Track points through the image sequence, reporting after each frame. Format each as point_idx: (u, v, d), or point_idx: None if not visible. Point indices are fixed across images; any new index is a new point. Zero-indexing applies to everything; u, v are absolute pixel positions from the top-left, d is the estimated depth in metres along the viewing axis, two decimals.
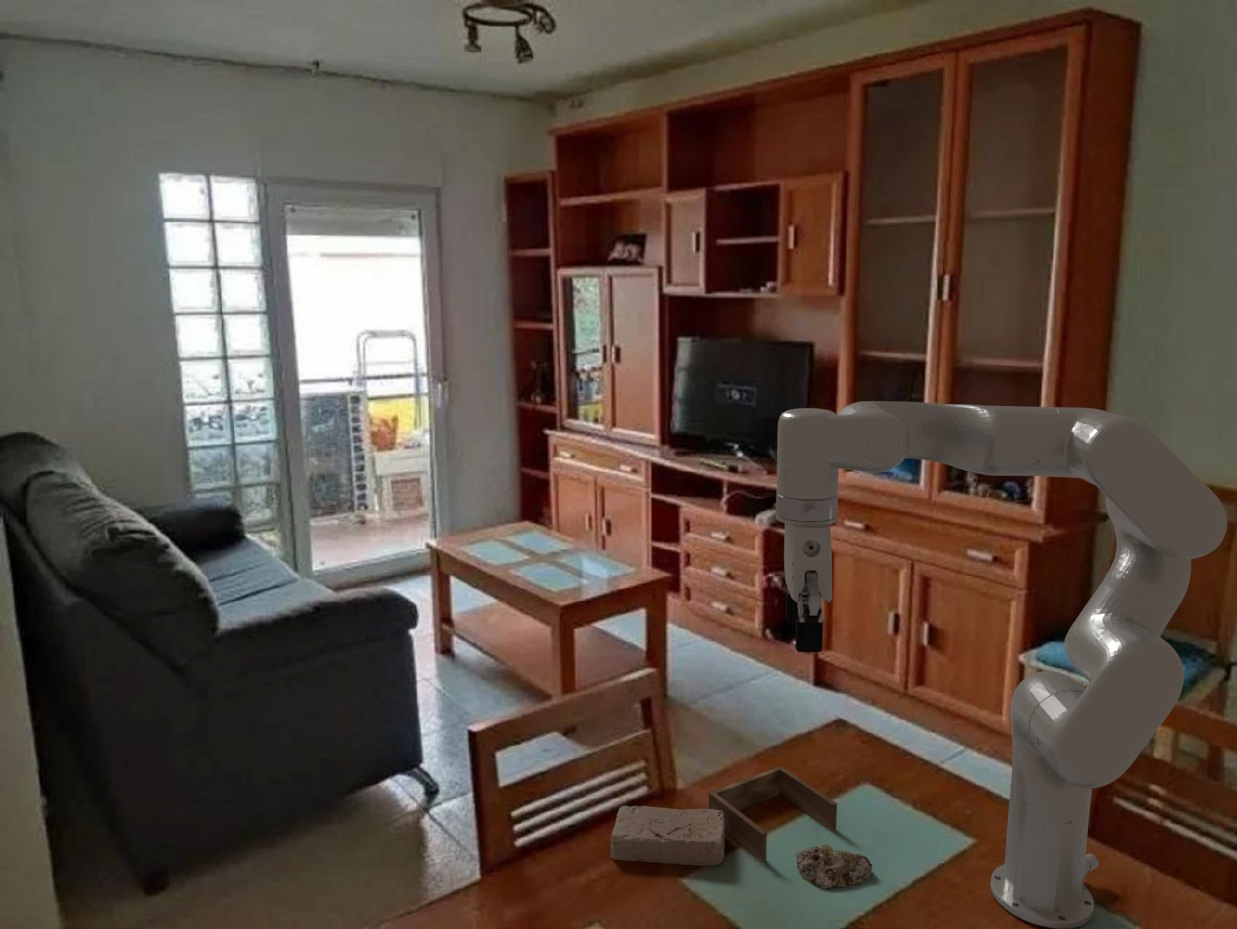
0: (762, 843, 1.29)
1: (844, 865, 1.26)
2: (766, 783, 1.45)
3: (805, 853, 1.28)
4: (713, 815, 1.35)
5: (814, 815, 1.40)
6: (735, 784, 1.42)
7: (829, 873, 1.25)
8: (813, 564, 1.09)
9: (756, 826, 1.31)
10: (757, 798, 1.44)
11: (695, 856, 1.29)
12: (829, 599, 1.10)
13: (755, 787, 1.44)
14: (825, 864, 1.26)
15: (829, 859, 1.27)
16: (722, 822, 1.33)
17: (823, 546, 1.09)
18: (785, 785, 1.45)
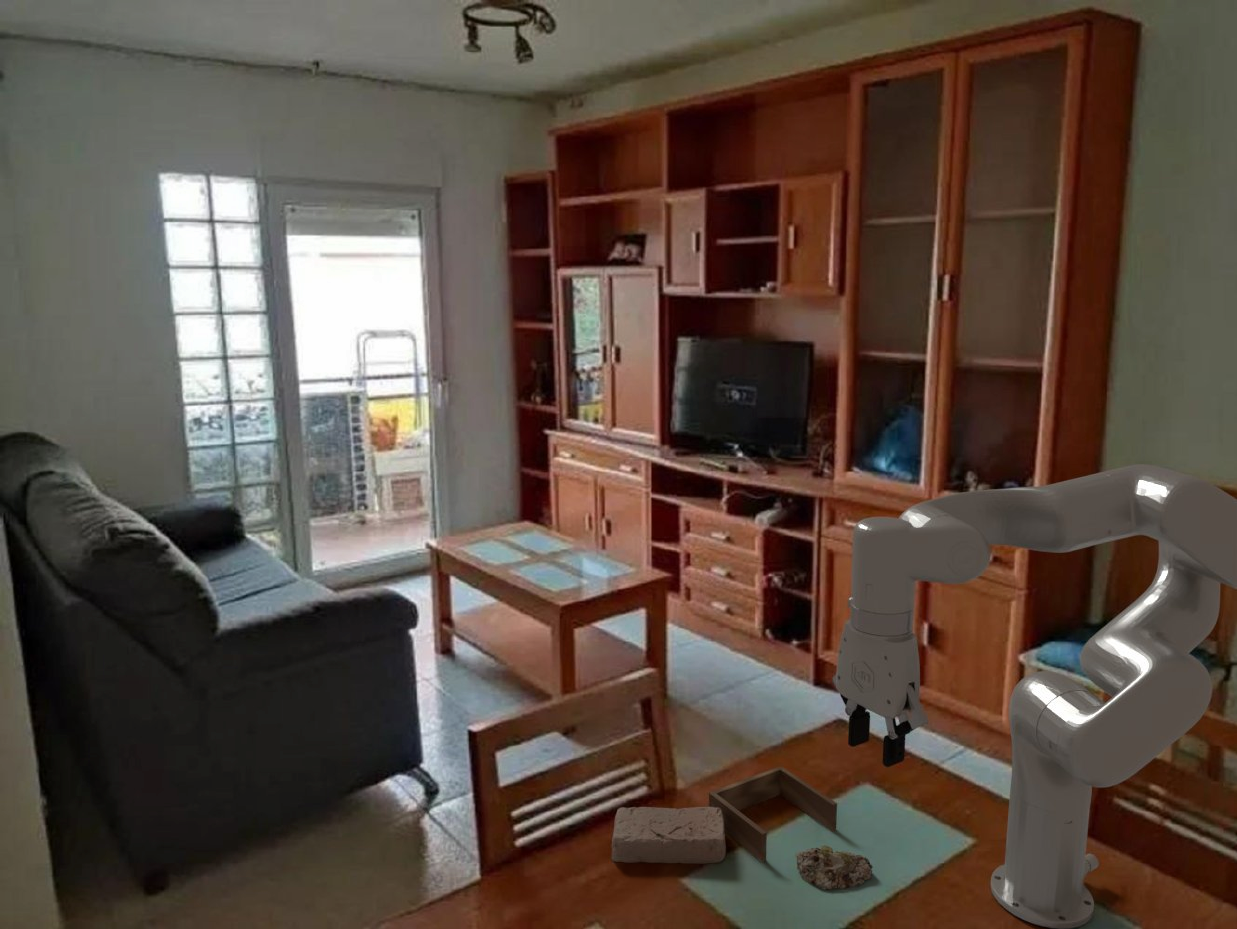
0: (762, 843, 1.29)
1: (844, 866, 1.26)
2: (766, 783, 1.45)
3: (805, 854, 1.28)
4: (712, 812, 1.35)
5: (814, 815, 1.40)
6: (735, 784, 1.42)
7: (829, 874, 1.25)
8: None
9: (756, 826, 1.31)
10: (757, 798, 1.44)
11: (697, 854, 1.29)
12: (836, 686, 1.16)
13: (755, 787, 1.44)
14: (825, 866, 1.26)
15: (829, 860, 1.27)
16: (721, 819, 1.33)
17: None
18: (785, 785, 1.45)
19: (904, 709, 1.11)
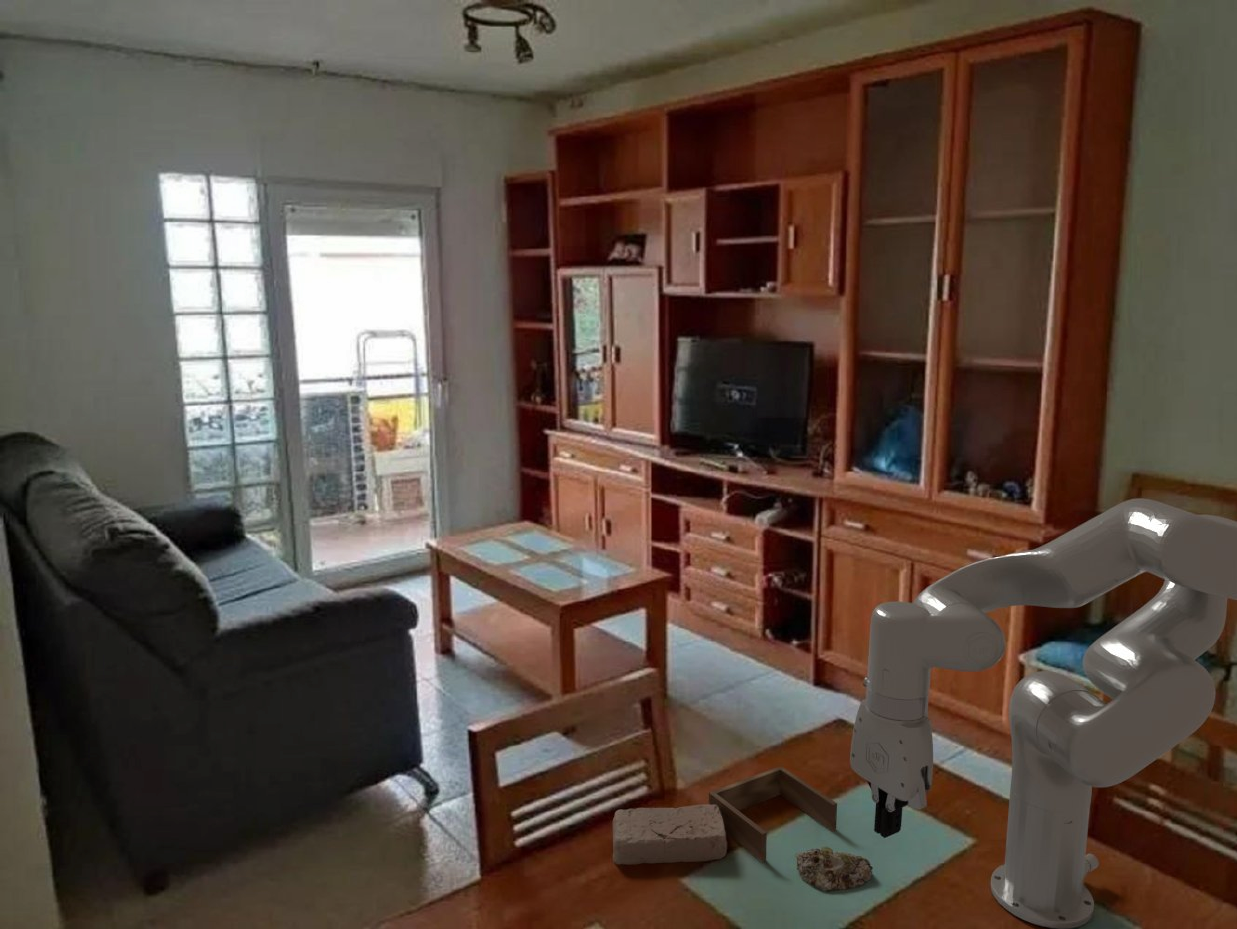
0: (762, 843, 1.29)
1: (844, 867, 1.26)
2: (766, 783, 1.45)
3: (805, 855, 1.27)
4: (710, 809, 1.36)
5: (814, 815, 1.40)
6: (735, 784, 1.42)
7: (829, 875, 1.24)
8: None
9: (756, 826, 1.31)
10: (757, 798, 1.44)
11: (700, 852, 1.30)
12: None
13: (755, 787, 1.44)
14: (825, 867, 1.26)
15: (829, 861, 1.26)
16: (720, 816, 1.34)
17: None
18: (785, 785, 1.45)
19: None
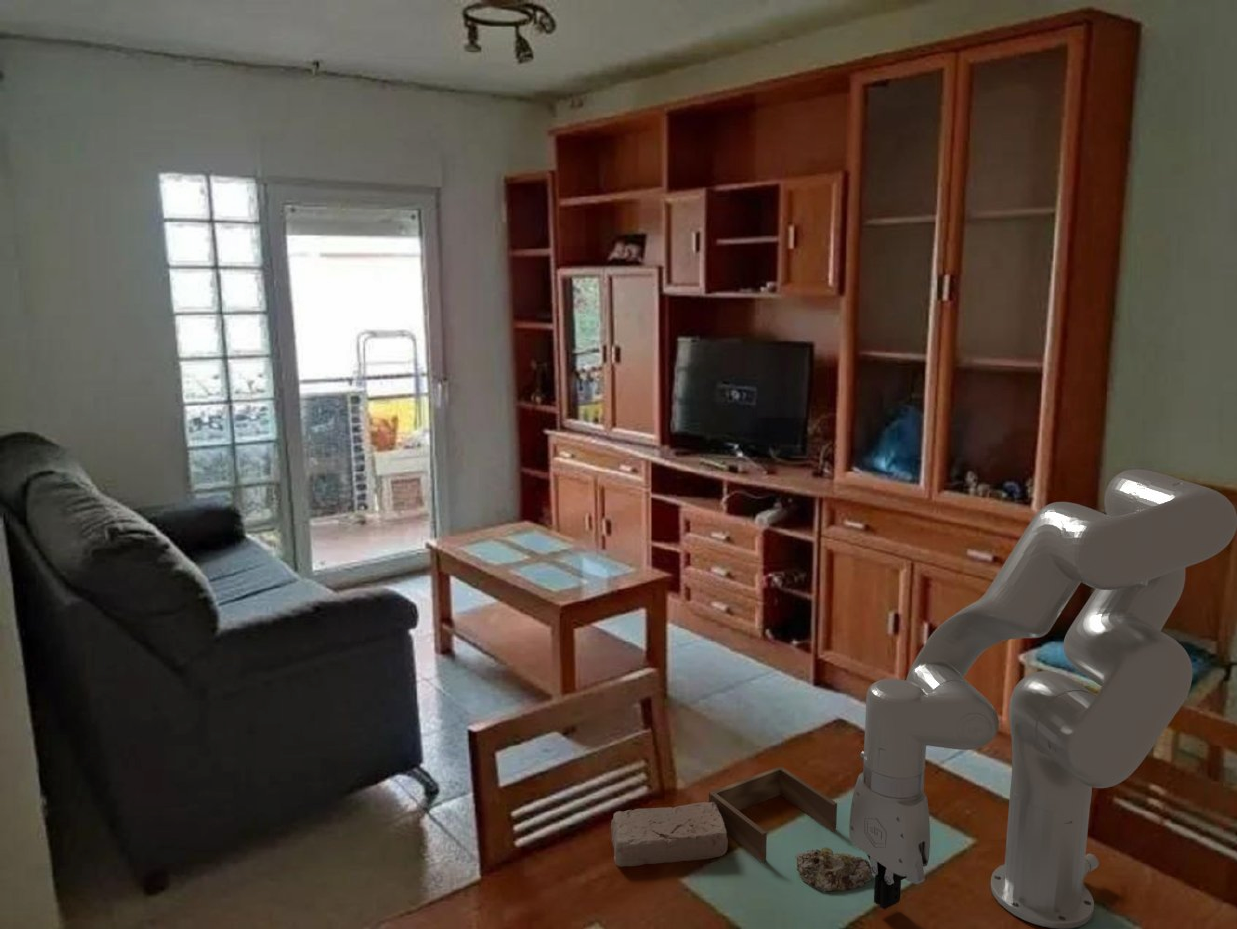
0: (762, 843, 1.29)
1: (844, 868, 1.25)
2: (766, 783, 1.45)
3: (805, 856, 1.27)
4: (707, 807, 1.37)
5: (814, 815, 1.40)
6: (735, 784, 1.42)
7: (829, 876, 1.24)
8: None
9: (756, 826, 1.31)
10: (757, 798, 1.44)
11: (701, 850, 1.30)
12: None
13: (755, 787, 1.44)
14: (825, 867, 1.26)
15: (829, 862, 1.26)
16: (719, 813, 1.35)
17: None
18: (785, 785, 1.45)
19: None
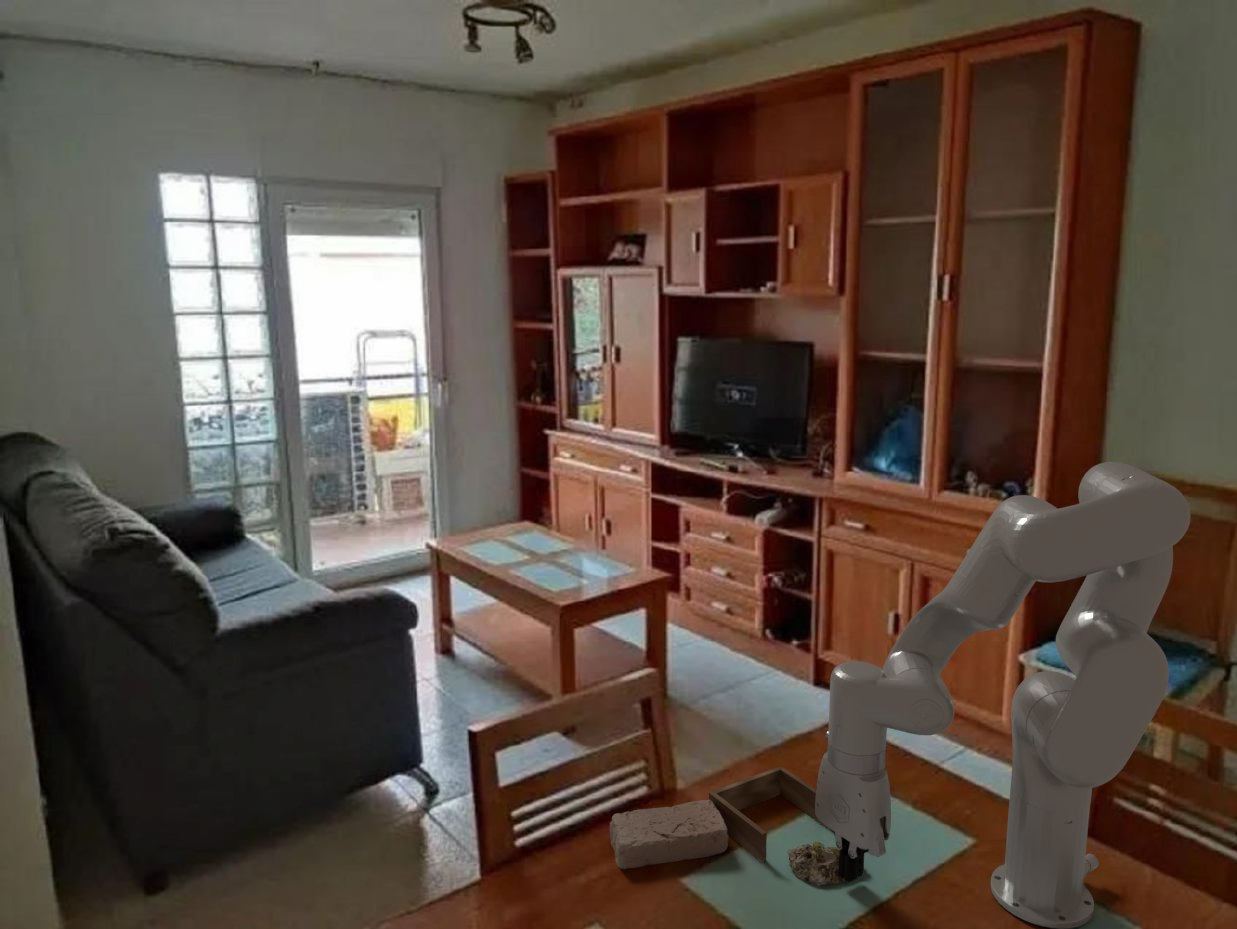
0: (762, 843, 1.29)
1: (836, 861, 1.27)
2: (766, 783, 1.45)
3: (797, 851, 1.28)
4: (705, 805, 1.37)
5: (814, 815, 1.40)
6: (735, 784, 1.42)
7: (822, 870, 1.25)
8: None
9: (756, 826, 1.31)
10: (757, 798, 1.44)
11: (703, 848, 1.31)
12: None
13: (755, 787, 1.44)
14: (818, 862, 1.27)
15: (821, 856, 1.27)
16: (717, 810, 1.36)
17: None
18: (785, 785, 1.45)
19: None
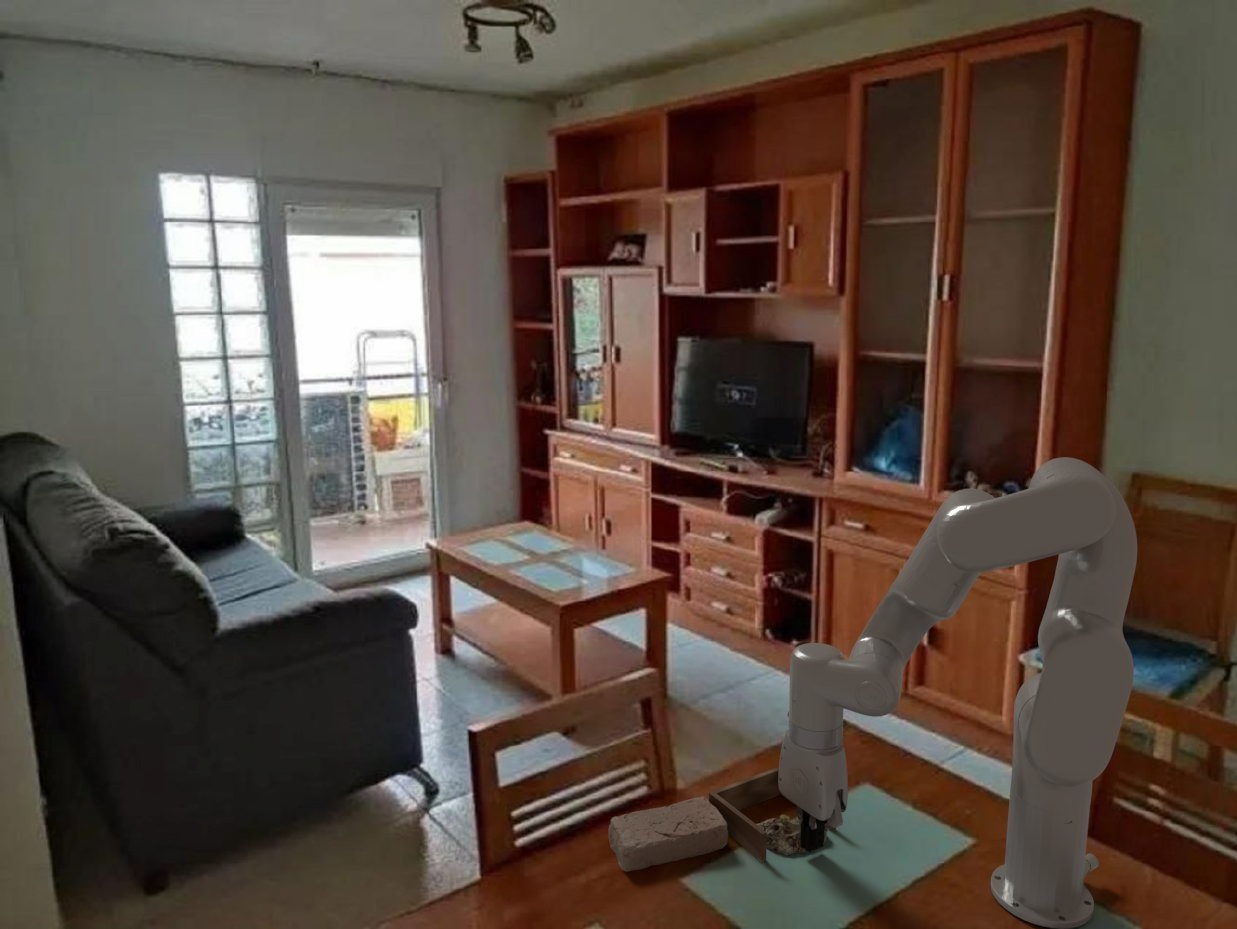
0: (762, 843, 1.29)
1: None
2: (766, 783, 1.45)
3: (765, 824, 1.35)
4: (701, 802, 1.38)
5: None
6: (735, 784, 1.42)
7: (789, 840, 1.32)
8: None
9: (756, 826, 1.31)
10: (757, 798, 1.44)
11: (704, 844, 1.32)
12: (778, 786, 1.33)
13: (755, 787, 1.44)
14: (785, 833, 1.34)
15: (788, 828, 1.34)
16: None
17: None
18: None
19: None
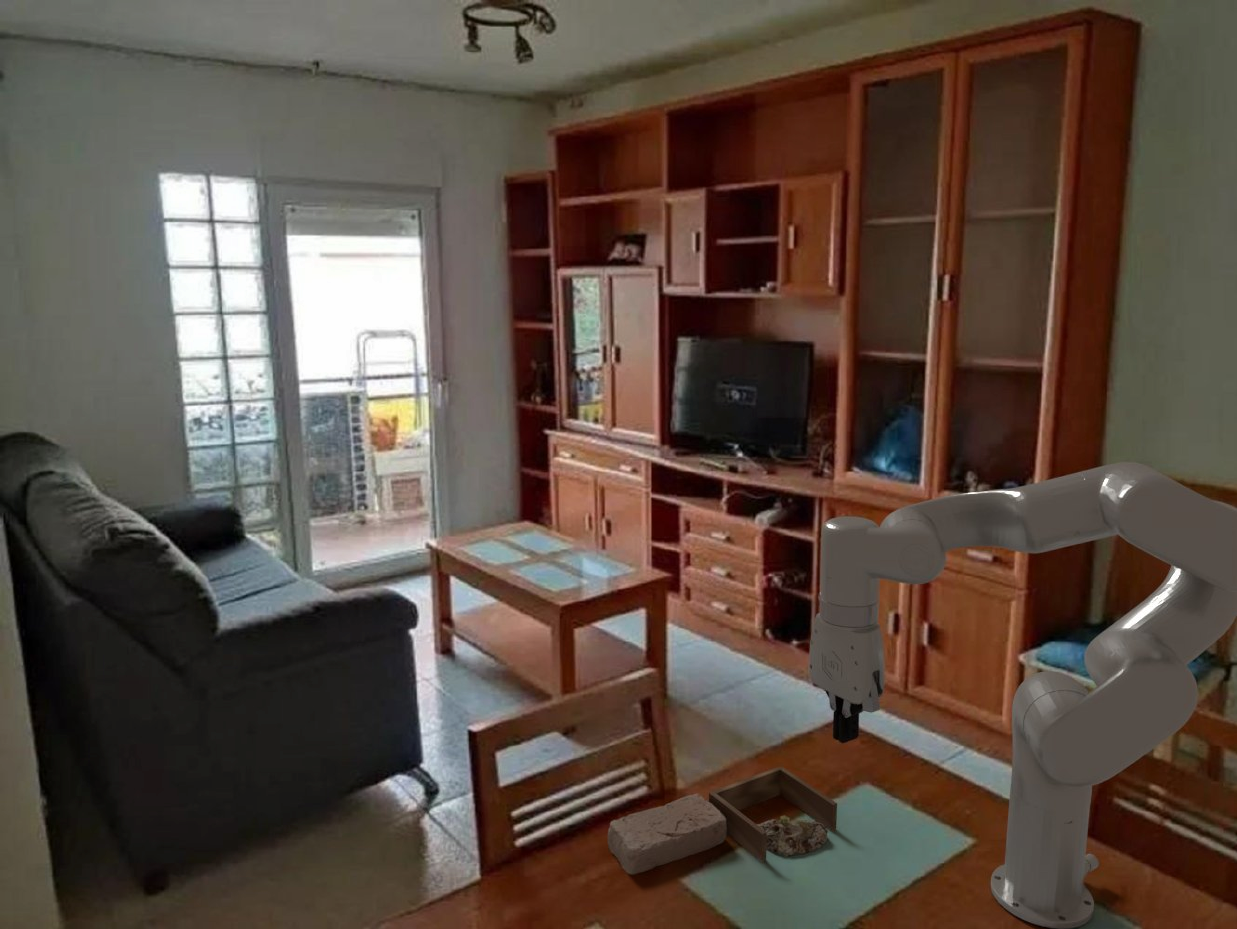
0: (762, 843, 1.29)
1: (802, 833, 1.34)
2: (766, 783, 1.45)
3: (766, 825, 1.35)
4: (695, 799, 1.39)
5: (814, 815, 1.40)
6: (735, 784, 1.42)
7: (789, 841, 1.32)
8: None
9: (756, 826, 1.31)
10: (757, 798, 1.44)
11: (705, 841, 1.32)
12: None
13: (755, 787, 1.44)
14: (785, 834, 1.33)
15: (788, 829, 1.34)
16: None
17: None
18: (785, 785, 1.45)
19: None
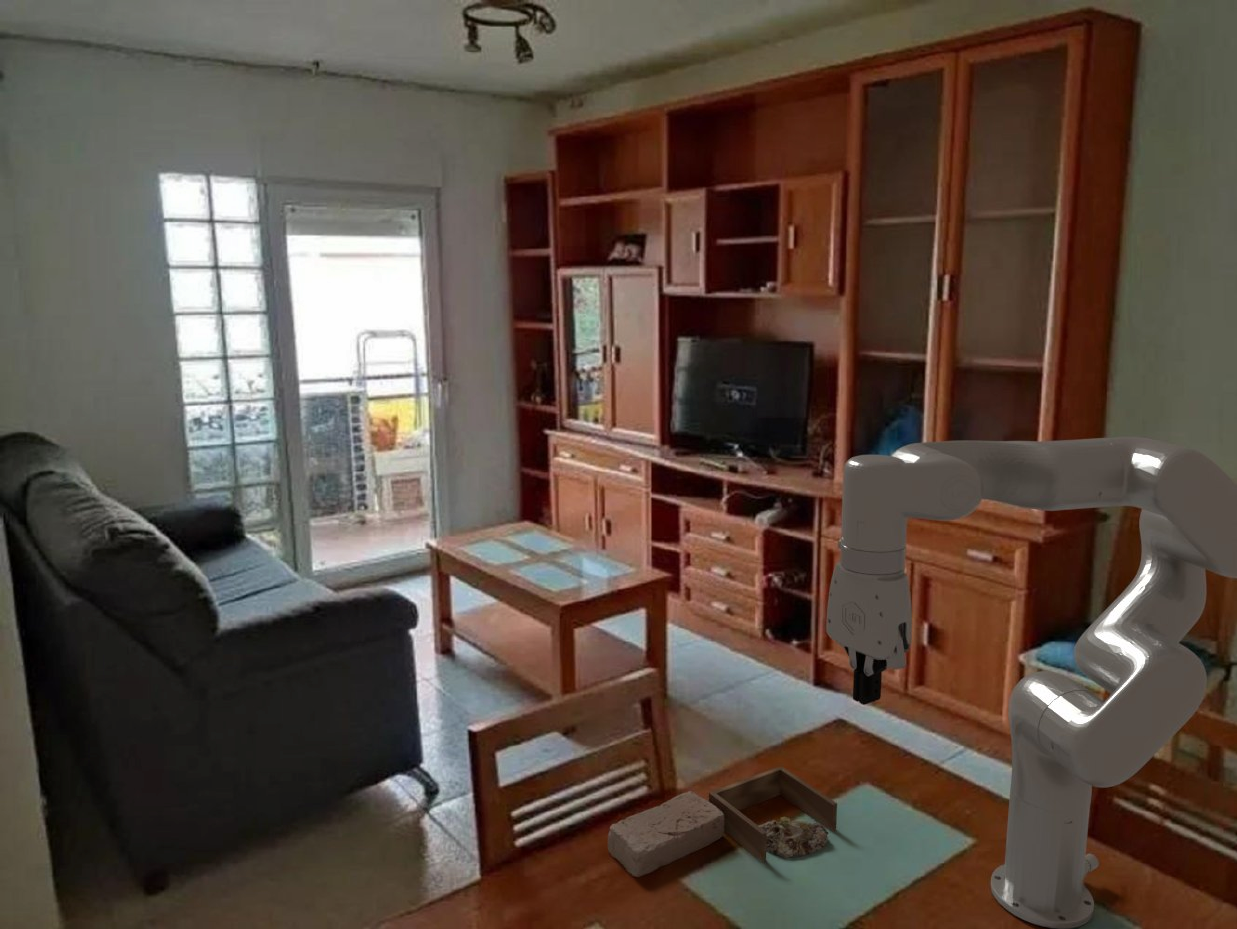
0: (762, 843, 1.29)
1: (803, 835, 1.33)
2: (766, 783, 1.45)
3: (766, 826, 1.34)
4: (690, 797, 1.39)
5: (814, 815, 1.40)
6: (735, 784, 1.42)
7: (789, 843, 1.32)
8: None
9: (756, 826, 1.31)
10: (757, 798, 1.44)
11: (705, 837, 1.33)
12: None
13: (755, 787, 1.44)
14: (785, 835, 1.33)
15: (788, 830, 1.34)
16: (704, 799, 1.39)
17: None
18: (785, 785, 1.45)
19: None
